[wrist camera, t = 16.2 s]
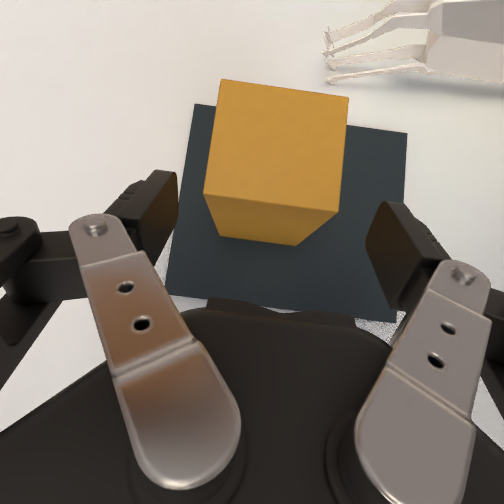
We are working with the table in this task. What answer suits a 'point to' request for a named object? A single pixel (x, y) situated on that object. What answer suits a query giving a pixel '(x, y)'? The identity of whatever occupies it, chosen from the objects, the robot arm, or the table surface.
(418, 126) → the table surface
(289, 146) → the block
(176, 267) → the mat
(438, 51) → the llama figurine
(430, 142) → the table surface
